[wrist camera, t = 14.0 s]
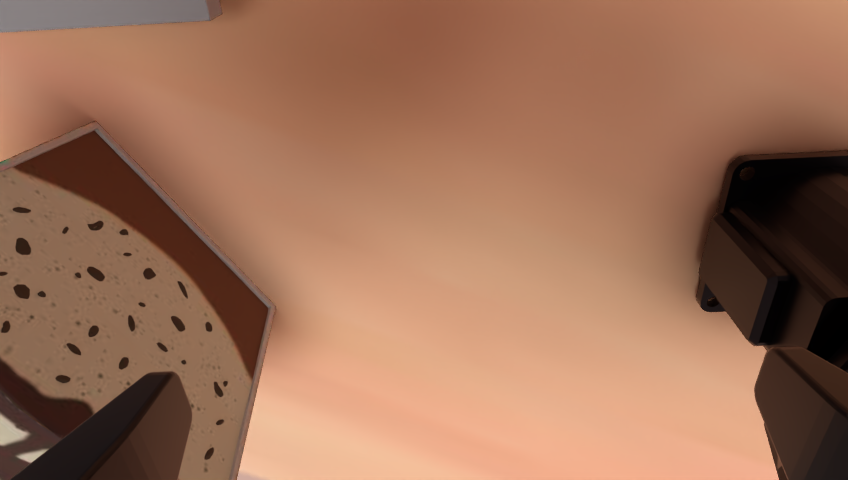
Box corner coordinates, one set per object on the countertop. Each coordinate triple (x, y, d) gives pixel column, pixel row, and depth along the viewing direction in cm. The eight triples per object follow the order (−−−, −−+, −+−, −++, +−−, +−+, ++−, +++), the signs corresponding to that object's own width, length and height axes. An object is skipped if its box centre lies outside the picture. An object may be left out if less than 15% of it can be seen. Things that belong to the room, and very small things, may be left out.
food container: (-56, 175, 20) (-412, 381, 12) (59, 83, 18) (-259, 243, 10) (192, 387, 26) (75, 634, 17) (299, 330, 24) (228, 573, 15)
